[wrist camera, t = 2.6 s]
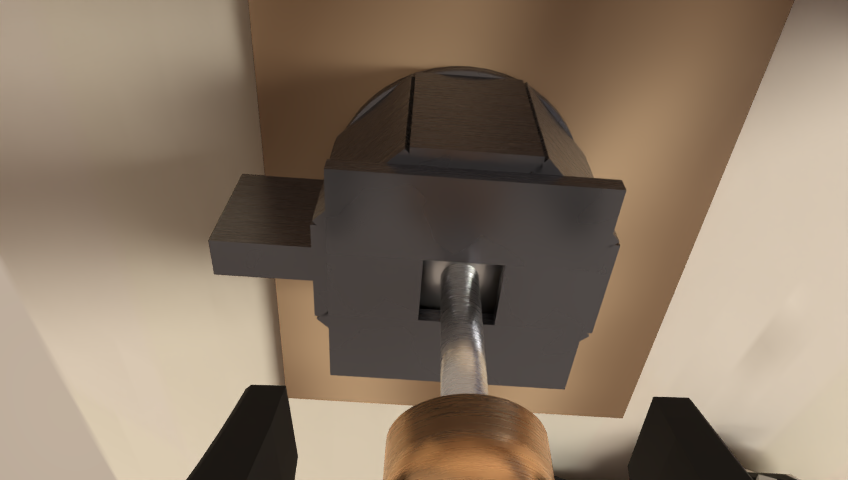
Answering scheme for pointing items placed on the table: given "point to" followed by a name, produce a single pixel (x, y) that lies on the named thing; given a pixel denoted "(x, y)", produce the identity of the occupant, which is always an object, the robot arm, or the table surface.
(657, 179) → the walnut board
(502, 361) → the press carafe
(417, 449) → the plunger
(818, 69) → the table surface
